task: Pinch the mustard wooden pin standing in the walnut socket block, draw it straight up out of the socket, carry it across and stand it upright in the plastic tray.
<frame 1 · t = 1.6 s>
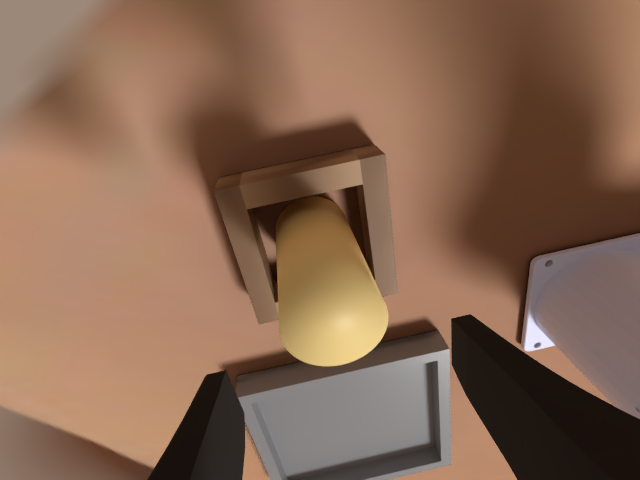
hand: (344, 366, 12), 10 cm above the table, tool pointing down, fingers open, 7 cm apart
socket block: (311, 230, 20), on the table
pin: (320, 268, 17), in the socket block
tray: (351, 413, 28), on the table
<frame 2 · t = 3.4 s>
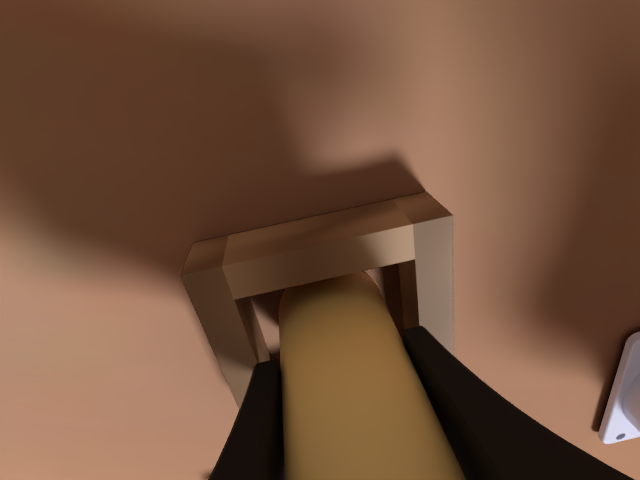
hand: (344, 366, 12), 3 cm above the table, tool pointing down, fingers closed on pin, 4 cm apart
socket block: (330, 309, 14), on the table
pin: (351, 395, 11), in the socket block, touching gripper
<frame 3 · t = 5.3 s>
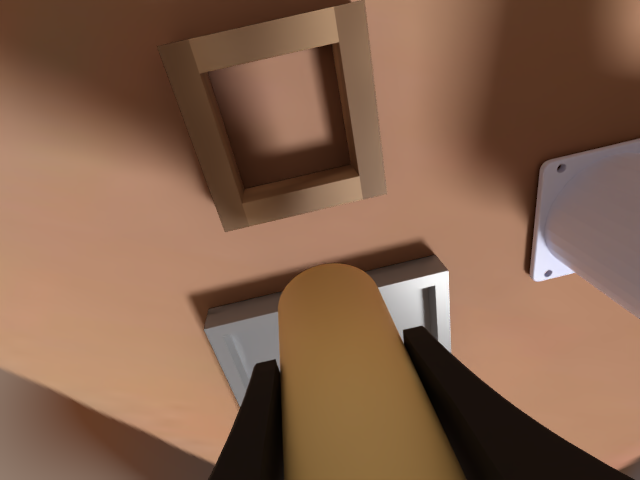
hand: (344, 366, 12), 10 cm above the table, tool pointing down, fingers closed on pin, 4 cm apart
socket block: (284, 121, 17), on the table
pin: (350, 393, 11), point 11 cm above the table, touching gripper
tray: (340, 358, 25), on the table
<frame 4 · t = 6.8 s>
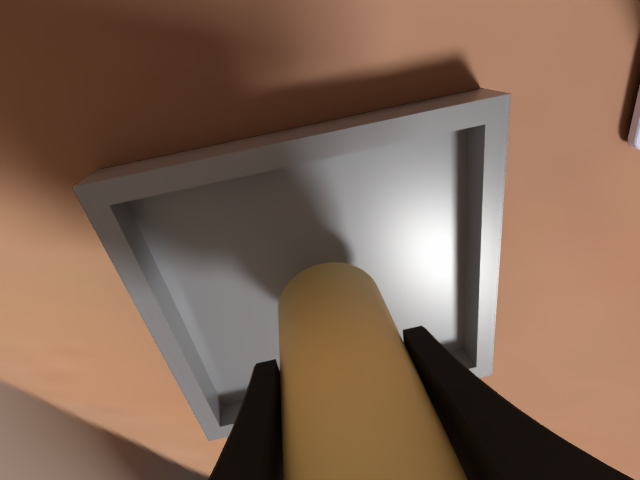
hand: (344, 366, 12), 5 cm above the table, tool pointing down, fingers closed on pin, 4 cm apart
pin: (350, 391, 11), point 6 cm above the table, touching gripper
tray: (323, 277, 16), on the table
when the fingers open (5 cm above the table, at t = 7.6 s): pin drops 1 cm, resting on tray.
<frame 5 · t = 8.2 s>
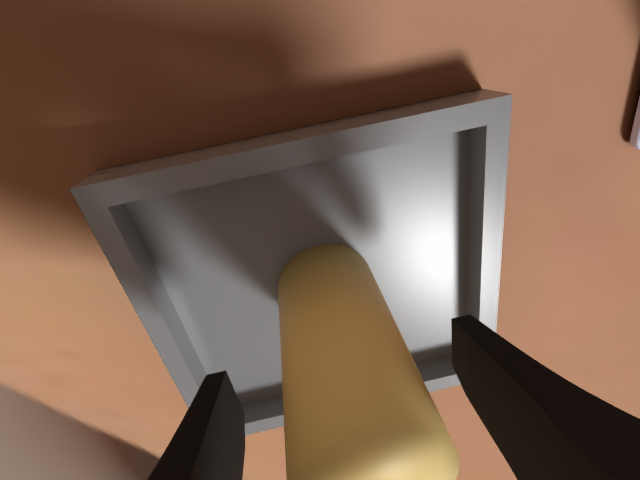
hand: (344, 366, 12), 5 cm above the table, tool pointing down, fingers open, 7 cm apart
pin: (342, 355, 12), in the tray, point 5 cm above the table
tray: (323, 279, 16), on the table
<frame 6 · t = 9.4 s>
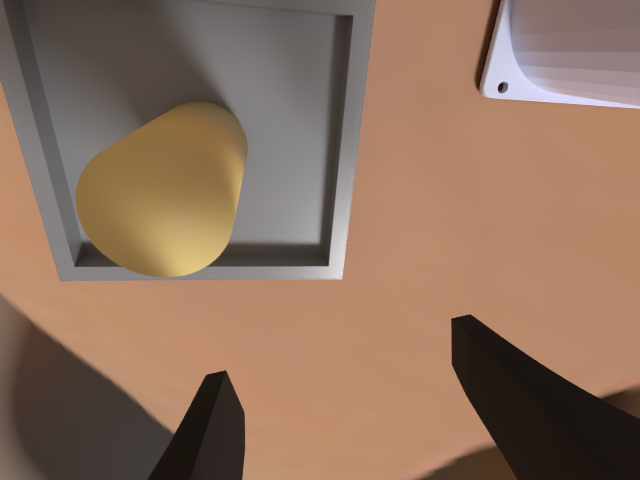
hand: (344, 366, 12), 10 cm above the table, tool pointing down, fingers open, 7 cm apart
pin: (186, 171, 13), in the tray, point 5 cm above the table
tray: (205, 144, 17), on the table
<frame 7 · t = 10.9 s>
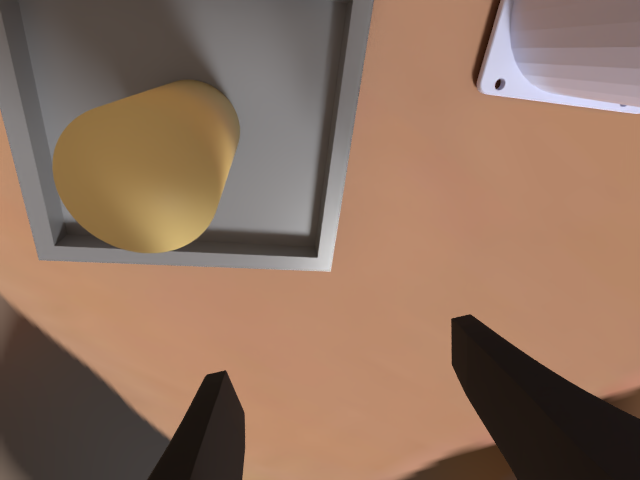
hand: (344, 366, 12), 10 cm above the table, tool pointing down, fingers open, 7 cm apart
pin: (174, 148, 13), in the tray, point 5 cm above the table
tray: (196, 126, 17), on the table
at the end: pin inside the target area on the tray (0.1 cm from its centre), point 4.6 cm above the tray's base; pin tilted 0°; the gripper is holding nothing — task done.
